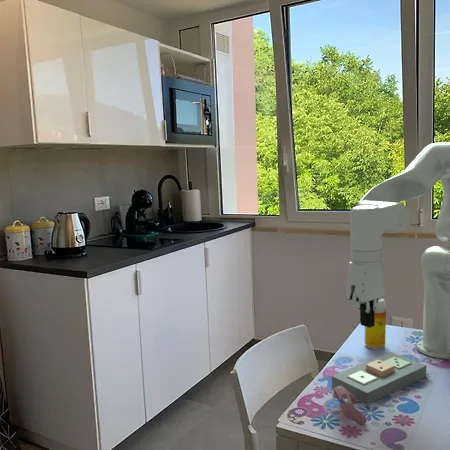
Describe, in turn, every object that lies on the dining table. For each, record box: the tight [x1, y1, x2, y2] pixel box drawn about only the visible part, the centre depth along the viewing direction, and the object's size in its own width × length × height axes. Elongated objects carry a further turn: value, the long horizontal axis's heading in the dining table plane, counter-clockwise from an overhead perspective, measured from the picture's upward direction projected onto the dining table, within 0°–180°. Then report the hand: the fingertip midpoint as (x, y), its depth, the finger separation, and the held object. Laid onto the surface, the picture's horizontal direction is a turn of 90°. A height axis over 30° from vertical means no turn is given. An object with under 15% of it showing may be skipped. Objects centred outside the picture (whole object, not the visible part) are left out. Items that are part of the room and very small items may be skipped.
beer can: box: [364, 297, 387, 350], centre depth 142 cm, size 6×6×15 cm
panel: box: [331, 352, 427, 406], centre depth 120 cm, size 24×11×3 cm, turn 124°
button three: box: [383, 357, 411, 370], centre depth 124 cm, size 5×5×3 cm
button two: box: [366, 360, 394, 378], centre depth 120 cm, size 5×5×3 cm
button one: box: [348, 371, 377, 386], centre depth 116 cm, size 5×5×3 cm
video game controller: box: [332, 385, 368, 425], centre depth 105 cm, size 10×5×7 cm, turn 179°
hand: (367, 325), depth 118 cm, fingers closed
